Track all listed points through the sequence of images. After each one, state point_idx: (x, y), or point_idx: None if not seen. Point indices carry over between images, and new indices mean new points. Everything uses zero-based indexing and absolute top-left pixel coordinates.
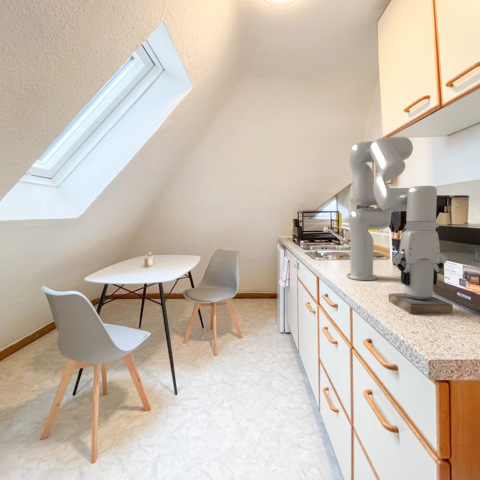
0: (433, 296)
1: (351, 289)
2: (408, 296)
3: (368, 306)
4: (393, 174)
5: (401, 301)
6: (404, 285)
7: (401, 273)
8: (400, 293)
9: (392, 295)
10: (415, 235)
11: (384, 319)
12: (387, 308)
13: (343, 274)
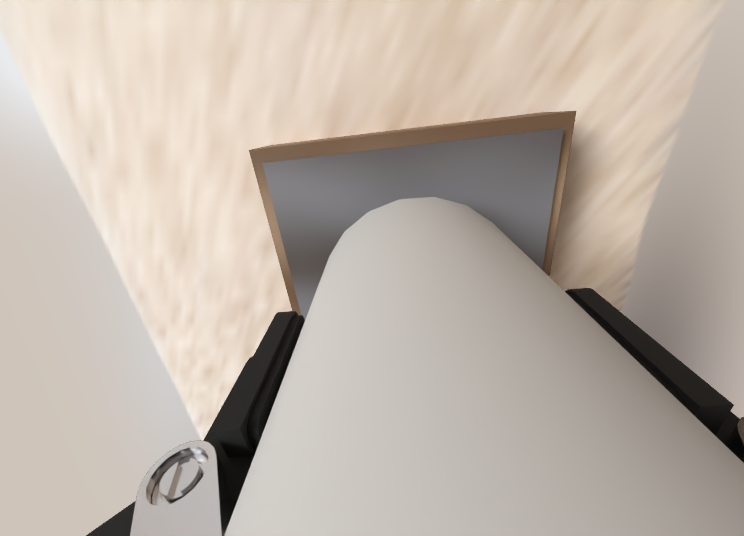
0: (545, 240)
1: None
2: None
3: (136, 253)
4: None
5: (293, 305)
6: (318, 286)
7: (214, 437)
8: (339, 158)
9: (267, 193)
10: None
11: (198, 397)
12: (233, 281)
13: None
